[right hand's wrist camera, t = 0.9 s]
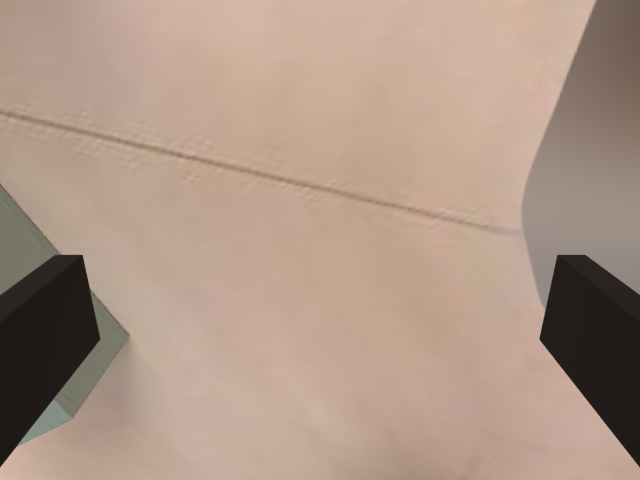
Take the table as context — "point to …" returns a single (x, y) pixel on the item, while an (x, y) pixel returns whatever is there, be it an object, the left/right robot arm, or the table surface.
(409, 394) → the table surface
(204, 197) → the table surface
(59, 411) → the cabinet
